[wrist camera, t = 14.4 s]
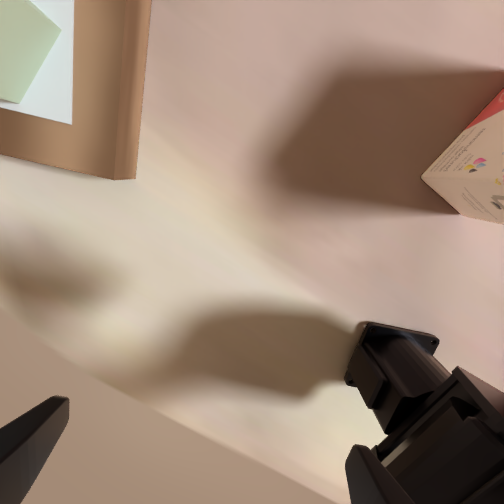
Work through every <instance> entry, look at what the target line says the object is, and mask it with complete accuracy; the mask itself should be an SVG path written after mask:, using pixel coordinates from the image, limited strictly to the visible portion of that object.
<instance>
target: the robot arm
mask: <svg viewBox="0 0 504 504" xmlns="http://www.w3.org/2000/svg"><path fill="white" fill-rule="evenodd" d="M372 328H374V329H373V330H371V329H372ZM431 341H432V342H431ZM439 342H440V341H439V339H438V338H437V337H436V336H434V335H431V334H426V333H421V332H416V331H411V330H406V329H401V328H397V327H392V326H387V325H382V324H377V323H369V324H367V325H366V327H365V329H364V332H363V334H362V336H361V339H360V341H359V344H358V345H357V346H356V349H355V351H354V353H353V356H352V358H351V361H350V363H349V365H348V370H347V372H346V375H345V377H344V381H345V383H346V384H347V385H348V386H352V387H357V388H358V390H359V392H360V394H361V396H362V398H363V400H364V402H365V404H366V406H367V407H368V408H369V409H372V410H373V412H374V414H375V416H376V418H377V420H378V422H379V424H380V425H381V427H382V429H383V431H384V433H385V434H387V435H388V436H387V437H386V438H385V439H384V440H383V441H382V442H381V443H380V444H379V445H378V446H377V445H375V446H374V447H373V448H372V449H371V450H370V449H369V448H368V447H366V446H363V445H357V444H355V445H353V447H352V449H351V451H350V453H349V455H348V457H347V459H346V463H345V471H346V476H347V482H348V488H349V494H350V499H351V504H504V393H503V392H501V391H500V390H498V389H496V388H494V387H493V386H491V385H489V384H488V383H486V382H484V381H483V380H481V379H479V378H477V377H476V376H474V375H472V374H471V373H469V372H467V371H466V370H464V369H462V368H460V367H459V366H457V367H456V368H455V369H454V370H453V371H452V374H450V373H449V372H448V371H447V370H446V369H445V368H444V367H443V365H442V364H441V363H440V362H439V361H438V360H437V359H436V358H435V357H434V356H433V354H434V352H435V350H436V348H437V347H438V345H439ZM351 379H352V380H351ZM68 419H69V398H67V397H64V396H52V397H50V398H49V399H47V400H45V401H44V402H42V403H40V404H39V405H37V406H36V407H34V408H32V409H31V410H29V411H28V412H26V413H24V414H23V415H21V416H20V417H18V418H16V419H15V420H13V421H11V422H10V423H8V424H7V425H5V426H4V427H2V428H0V504H20V503H21V502H22V500H23V499H24V497H25V496H26V494H27V493H28V491H29V490H30V488H31V486H32V485H33V483H34V481H35V480H36V478H37V476H38V474H39V473H40V471H41V469H42V467H43V466H44V464H45V462H46V460H47V458H48V457H49V455H50V453H51V452H52V450H53V448H54V446H55V444H56V443H57V441H58V439H59V437H60V436H61V434H62V432H63V430H64V429H65V427H66V425H67V423H68Z"/></svg>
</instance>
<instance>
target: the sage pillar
mask: <svg viewBox="0 0 504 504" xmlns="http://www.w3.org/2000/svg"><path fill="white" fill-rule="evenodd" d="M61 31H62V30H61V29H60V28H59V27H58V26H57V25H56V24H55V23H54V22H53V21H52V20H50V19H49V18H48V17H47V16H46V15H45V14H44V13H43V12H42V11H41V10H40V9H39V8H38V7H36V6H35V5H34V4H33V3H32V2H31V1H30V0H0V98H1V99H5V100H8V101H11V102H15V103H18V104H20V102H21V100H22V99H23V97H24V95H25V93H26V92H27V90H28V88H29V86H30V85H31V83H32V81H33V80H34V78H35V76H36V74H37V73H38V71H39V69H40V67H41V66H42V64H43V62H44V60H45V59H46V57H47V55H48V54H49V52H50V50H51V48H52V47H53V45H54V43H55V41H56V40H57V38H58V36H59V34H60V33H61Z"/></svg>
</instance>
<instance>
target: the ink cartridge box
mask: <svg viewBox="0 0 504 504" xmlns="http://www.w3.org/2000/svg"><path fill="white" fill-rule="evenodd" d="M421 179H422V180H423V181H424V182H425V183H427V184H428V185H429V186H430V187H431V188H432V189H433V190H435V191H436V192H437V193H438V194H439V195H440V196H441V197H442V198H444V199H445V200H446V201H447V202H448V203H449V204H450V205H451V206H452V207H453V208H455V209H456V210H457V211H458V212H459V213H460V214H461V215H463V216H466V217H470V218H475V219H480V220H485V221H489V222H494V223H499V224H503V225H504V88H503V89H502V90H501V91H500V93H499V94H498V95H497V96H496V97H495V98H494V99H493V100H492V101H491V102H490V103H489V104H488V105H487V106H486V107H485V108H484V109H483V110H482V112H481V113H480V114H479V115H478V116H477V117H476V118H475V119H474V120H473V121H472V122H471V123H470V124H469V125H468V127H467V128H466V129H465V130H464V131H463V132H462V133H461V134H460V135H459V136H458V137H457V138H456V139H455V140H454V141H453V143H452V144H451V145H450V146H449V147H448V148H447V149H446V150H445V151H444V152H443V153H442V154H441V155H440V156H439V157H438V158H437V159H436V161H435V162H434V163H433V164H432V165H431V166H430V167H429V168H428V169H427V170H426V171H425V172H424V173H423V175H422V176H421Z"/></svg>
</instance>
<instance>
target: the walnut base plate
mask: <svg viewBox="0 0 504 504" xmlns="http://www.w3.org/2000/svg"><path fill="white" fill-rule="evenodd" d="M30 1H31V2H32V3H33V4H34V5H35V6H36V7H38V8H39V9H40V10H41V11H42V12H43V13H44V14H45V15H46V16H47V17H48V18H49V19H50V20H52V21H53V22H54V23H55V24H56V25H57V26H58V27H59V28H60V29H61V30H62V31H61V33H60V34H59V36H58V38H57V40H56V41H55V43H54V45H53V47H52V48H51V50H50V52H49V54H48V55H47V57H46V59H45V60H44V62H43V64H42V66H41V67H40V69H39V71H38V73H37V74H36V76H35V78H34V80H33V81H32V83H31V85H30V86H29V88H28V90H27V92H26V93H25V95H24V97H23V99H22V100H21V102H20V104H18V103H15V102H11V101H8V100H5V99H1V98H0V154H3V155H7V156H11V157H16V158H20V159H24V160H29V161H33V162H37V163H42V164H46V165H50V166H55V167H59V168H63V169H68V170H72V171H77V172H81V173H85V174H90V175H94V176H98V177H103V178H107V179H111V180H124V179H135V178H136V167H137V156H138V145H139V134H140V123H141V112H142V101H143V90H144V79H145V68H146V57H147V46H148V35H149V24H150V13H151V2H152V0H30Z"/></svg>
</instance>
